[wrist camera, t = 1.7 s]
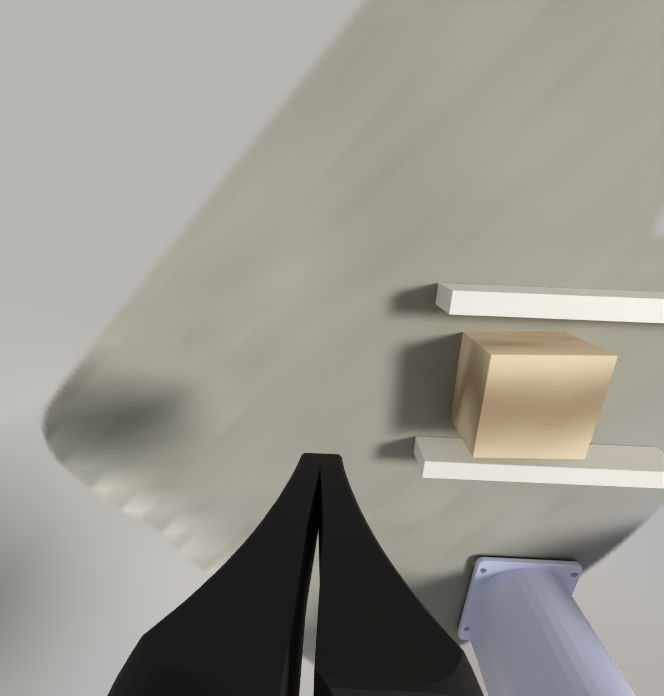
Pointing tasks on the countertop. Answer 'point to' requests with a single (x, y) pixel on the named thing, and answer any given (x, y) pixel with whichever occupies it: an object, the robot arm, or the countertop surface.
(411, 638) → the robot arm
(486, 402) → the birch block
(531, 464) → the channel rails
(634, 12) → the countertop surface
